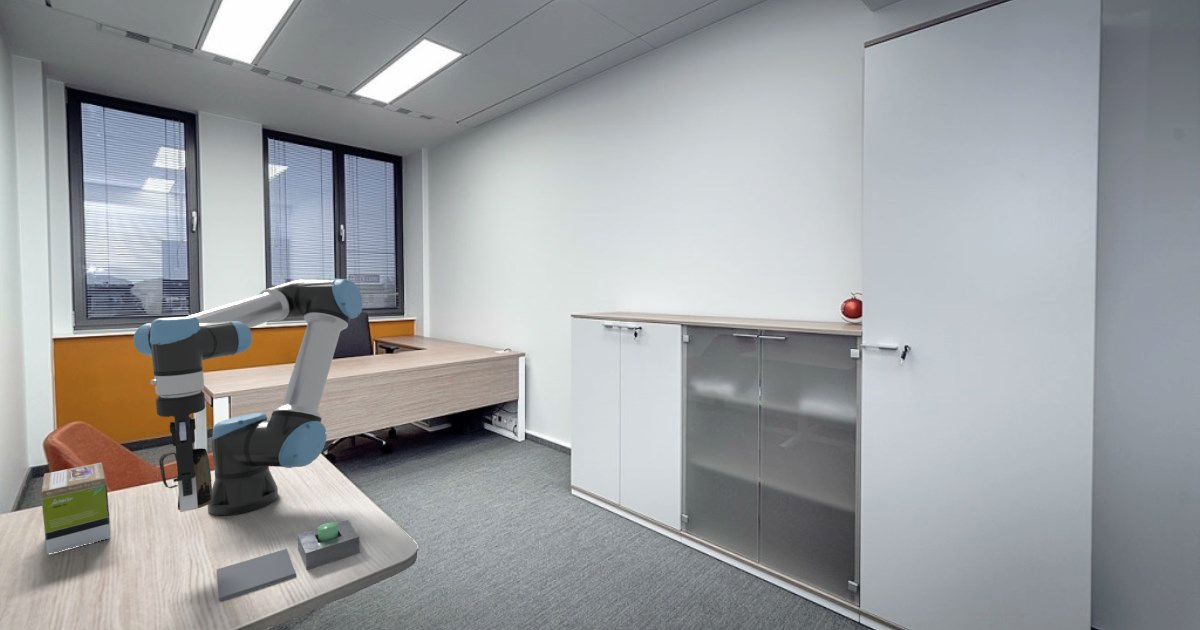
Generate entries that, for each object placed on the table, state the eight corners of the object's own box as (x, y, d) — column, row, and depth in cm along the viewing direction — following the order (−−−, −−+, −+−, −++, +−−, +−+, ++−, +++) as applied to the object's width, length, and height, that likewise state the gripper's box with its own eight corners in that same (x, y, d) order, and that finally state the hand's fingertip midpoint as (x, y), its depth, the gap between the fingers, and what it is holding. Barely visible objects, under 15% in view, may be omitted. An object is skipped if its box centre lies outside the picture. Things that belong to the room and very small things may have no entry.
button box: (298, 549, 107) (297, 534, 107) (348, 534, 113) (347, 520, 113) (306, 570, 99) (305, 553, 99) (360, 552, 106) (359, 536, 106)
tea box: (47, 533, 115) (43, 472, 114) (108, 518, 123) (104, 460, 122) (45, 557, 105) (40, 489, 104) (111, 539, 112) (107, 476, 112)
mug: (204, 496, 106) (200, 441, 105) (218, 501, 103) (214, 445, 102) (158, 512, 99) (153, 454, 98) (172, 517, 96) (167, 458, 95)
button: (316, 539, 106) (316, 526, 106) (336, 533, 109) (335, 520, 109) (320, 546, 104) (319, 532, 103) (340, 540, 106) (339, 526, 106)
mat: (216, 572, 99) (216, 569, 99) (286, 551, 107) (286, 548, 106) (219, 601, 90) (219, 598, 90) (295, 576, 97) (295, 573, 97)
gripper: (157, 388, 104) (166, 494, 106) (152, 405, 90) (163, 527, 92) (203, 383, 109) (210, 484, 111) (205, 398, 95) (213, 514, 97)
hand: (189, 504), depth 101 cm, fingers closed on mug, 5 cm apart
